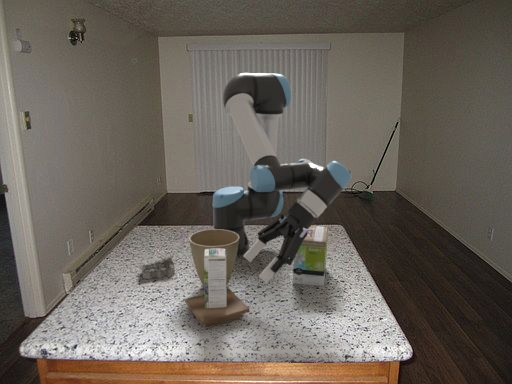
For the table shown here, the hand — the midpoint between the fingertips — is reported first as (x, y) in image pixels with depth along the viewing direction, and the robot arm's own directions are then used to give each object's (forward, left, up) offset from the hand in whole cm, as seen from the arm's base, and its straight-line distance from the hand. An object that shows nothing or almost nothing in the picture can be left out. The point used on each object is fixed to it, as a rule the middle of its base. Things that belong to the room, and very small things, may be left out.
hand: (254, 268), depth 107 cm
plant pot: (-17, -4, -12) cm, 21 cm away
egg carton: (-35, -17, -12) cm, 40 cm away
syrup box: (-2, -10, -9) cm, 14 cm away
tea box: (-9, +25, -12) cm, 29 cm away
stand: (-2, -11, -11) cm, 16 cm away
